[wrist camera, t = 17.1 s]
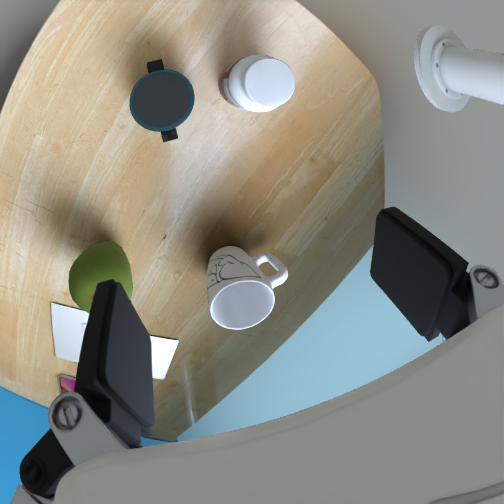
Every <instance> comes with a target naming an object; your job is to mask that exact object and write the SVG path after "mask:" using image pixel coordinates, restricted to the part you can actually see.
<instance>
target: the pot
mask: <svg viewBox="0 0 504 504" xmlns="http://www.w3.org/2000/svg"><path fill="white" fill-rule="evenodd" d="M147 68H148V73H149V74H147V75H145V76H144V77H143V78H141V79H140V80H139V81H138V82H137V84H136V85H135V86H134V88H133V90H132V93H131V96H130V110H131V114H132V116H133V118H134V119H135V121H136V122H137V123H138V124H139V125H141V126H142V127H144V128H146V129H148V130H151V131H159V132H160V131H161V135H162V139H163V142H167V141H170V140H174V139H178V135H177V131H176V128H175V127H177V126H179V125H180V124H182V123H183V122H184V121H185V120H186V119H187V117H188V116H189V115H190V113H191V111H192V109H193V105H194V91H193V88H192V85H191V84H190V82H189V81H188V79H187V78H186V77H185V76H183V75H182V74H180V73H178V72H176V71H173V70H164V66H163V60H162V59H159V60H155V61H151V62H148V63H147Z"/></svg>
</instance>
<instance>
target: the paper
mask: <svg viewBox="0 0 504 504" xmlns="http://www.w3.org/2000/svg"><path fill="white" fill-rule="evenodd" d="M51 308H52V327H53V337H54V346H55V354H56V357H58V358H61V359H65V360H69V361H73V362H77V363H78V362H79V356H80V351H81V346H82V341H83V336H84V331H85V328H86V326H87V321H88V317H89V313H87V312H86V311H82V310H78V309H74V308H70V307H66V306H62V305H58V304H55V303H52V302H51ZM150 338H151V343H152V378H158V379H164V378H165V375H166V372H167V370H168V367H169V365H170V362H171V360H172V357H173V354H174V352H175V349H176V347H177V344H178V341H176V340H170V339H164V338H159V337H153V336H150Z"/></svg>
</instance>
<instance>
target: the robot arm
mask: <svg viewBox="0 0 504 504" xmlns="http://www.w3.org/2000/svg"><path fill="white" fill-rule="evenodd" d="M431 68H432V73H433V77H434V79H435V82H436V84H437V86H438V88H439V89H440V91H441V92H442V93H443V94H444V95H445V96H447V97H448V98H451V99H460V98H462V97H463V96H464V95H465V94H466V95H470V96H474V97H478V98H482V99H485V100H489V101H492V102H495V103H499V104H502V105H504V54H503V53H498V52H492V51H486V50H479V49H470V48H461V47H459V46H458V44H456V43H455V42H454V41H452V40H449V39H441V40H439V41H437V42H436V43H435V45H434V47H433V49H432V53H431ZM468 264H469V263H468V262H467V261H466V260H464V259H463V258H462V257H461V256H460V255H459V254H457V253H456V252H455V251H454V250H452V249H451V248H450V247H449V246H447V245H446V244H445V243H444V242H442V241H441V240H440V239H438V238H437V237H436V236H434V235H433V234H432V233H431V232H429V231H428V230H427V229H425V228H424V227H423V226H421V225H420V224H419V223H417V222H416V221H415V220H413V219H412V218H410V217H409V216H407V215H406V214H405V213H403V212H402V211H400V210H399V209H398V208H396V207H390V208H386V209H382V210H381V211H380V212H379V214H378V215H377V218H376V227H375V237H374V246H373V254H372V262H371V269H370V274H371V277H372V279H373V280H374V281H375V282H376V284H377V285H378V286H379V287H380V288H381V289H382V290H383V292H384V293H385V294H386V295H387V296H388V297H389V298H390V300H391V301H392V302H393V303H394V304H395V305H396V307H397V308H398V309H399V310H400V311H401V313H402V314H403V315H404V316H405V317H406V318H407V320H408V321H409V322H410V323H411V325H412V326H413V327H414V328H415V329H416V331H417V332H418V333H419V334H420V335H421V336H424V337H425V338H426V339H427V341H428V342H429V341H431V340H432V339H434V338H436V337H437V336H439V333H440V332H441V334H442V335H443V343H441V344H440V345H438V346H437V347H435V348H433V349H432V350H430V351H428V352H427V353H425V354H423V355H422V356H420V357H418V358H416V359H414V360H413V361H411V362H409V363H407V364H405V365H404V366H402V367H400V368H398V369H396V370H394V371H393V372H390V373H388V374H386V375H384V376H382V377H380V378H379V379H376V380H374V381H372V382H370V383H368V384H366V385H363V386H362V387H360V388H357V389H355V390H353V391H350V392H348V393H345V394H343V395H341V396H338V397H336V398H333V399H331V400H328V401H326V402H323V403H321V404H318V405H315V406H313V407H310V408H307V409H304V410H301V411H299V412H296V413H293V414H290V415H287V416H284V417H280V418H277V419H274V420H271V421H268V422H264V423H261V424H257V425H253V426H250V427H246V428H242V429H238V430H234V431H230V432H225V433H222V434H217V435H212V436H207V437H203V438H197V439H192V440H187V441H181V442H175V443H169V444H162V445H155V446H148V447H142V446H141V445H140V444H141V436H149V435H152V429H151V427H153V426H155V412H154V397H153V378H152V343H151V338H150V335H149V333H148V332H147V330H146V328H145V326H144V325H143V323H142V321H141V319H140V318H139V316H138V314H137V312H136V310H135V308H134V307H133V305H132V303H131V301H130V299H129V297H128V295H127V293H126V291H125V290H124V288H123V286H122V284H121V283H120V282H116V281H115V280H114V279H110V280H106V281H103V282H99V283H98V284H97V286H96V290H95V293H94V297H93V301H92V305H91V309H90V313H89V317H88V321H87V326H86V328H85V331H84V336H83V341H82V346H81V351H80V356H79V362H78V368H77V374H76V381H75V388H74V392H65V393H62V394H60V395H59V396H58V397H56V398H55V400H54V401H53V402H52V404H51V406H50V408H49V413H48V422H49V424H50V427H51V428H50V430H49V431H48V432H47V433H46V434H45V435H44V436H43V437H42V438H41V439H40V440H39V442H38V443H37V444H36V445H35V446H34V447H33V448H32V450H30V451H29V453H28V454H27V455H26V456H25V457H24V459H23V460H22V462H21V465H20V478H21V481H22V483H23V485H20V484H18V486H17V489H16V491H15V493H14V496H13V498H12V501H11V504H504V285H503V282H502V279H501V277H500V276H499V275H498V273H497V272H496V271H494V270H493V269H491V268H490V267H488V266H484V265H475V266H473V267H472V268H471V269H470V272H469V273H468V272H466V269H467V266H468Z"/></svg>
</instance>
